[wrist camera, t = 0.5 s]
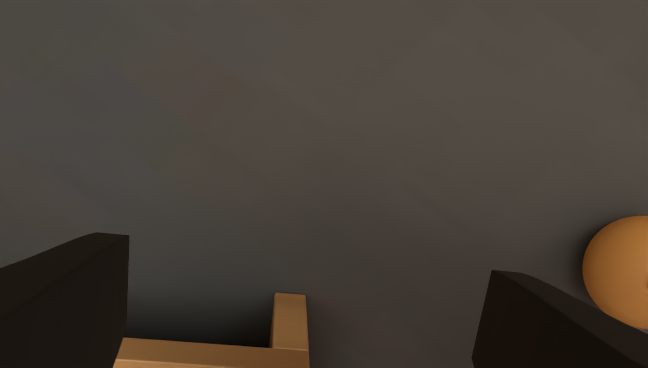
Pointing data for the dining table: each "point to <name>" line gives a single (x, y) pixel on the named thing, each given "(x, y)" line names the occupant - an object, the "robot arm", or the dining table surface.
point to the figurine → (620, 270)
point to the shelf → (228, 360)
